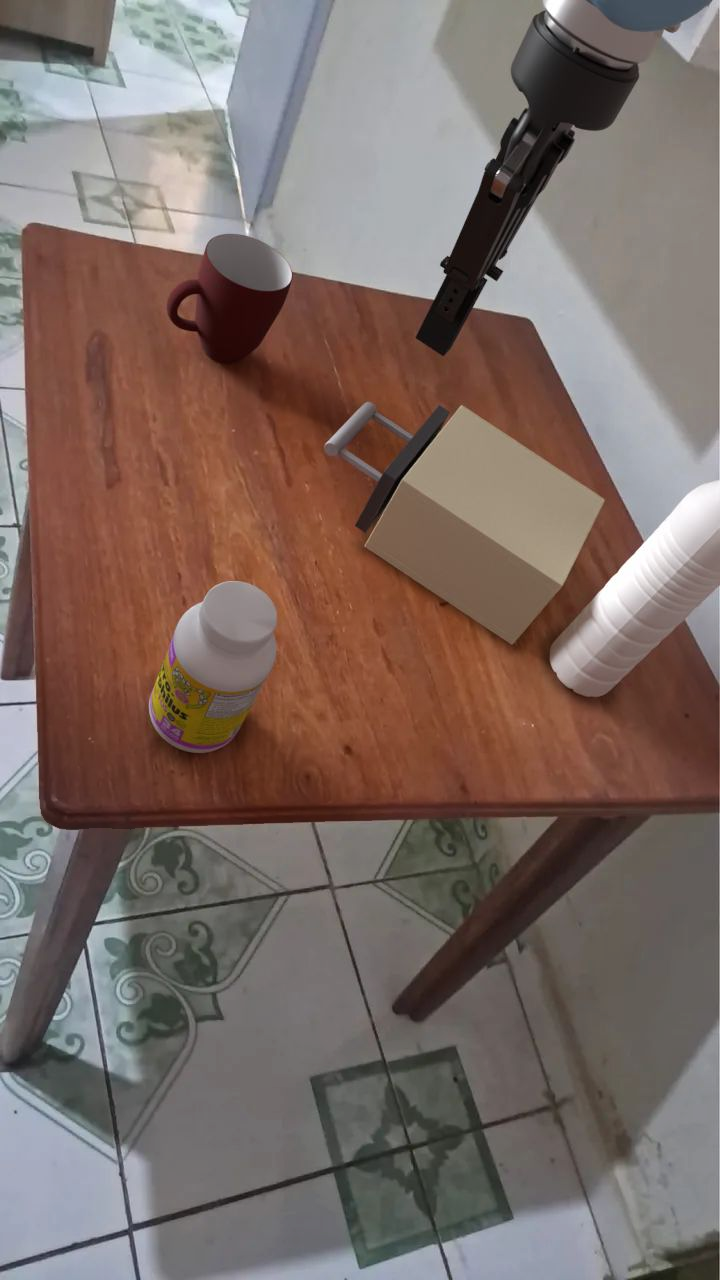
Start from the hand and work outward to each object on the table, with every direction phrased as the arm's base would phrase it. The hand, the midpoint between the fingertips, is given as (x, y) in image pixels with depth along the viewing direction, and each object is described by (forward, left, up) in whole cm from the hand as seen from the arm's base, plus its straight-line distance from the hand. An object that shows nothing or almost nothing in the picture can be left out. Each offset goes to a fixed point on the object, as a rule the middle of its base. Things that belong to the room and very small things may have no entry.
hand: (433, 342), depth 76 cm
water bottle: (+27, -5, -17) cm, 32 cm away
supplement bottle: (+2, -31, -17) cm, 35 cm away
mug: (-19, +4, -17) cm, 26 cm away
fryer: (+12, 0, -16) cm, 20 cm away
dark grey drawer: (+6, 0, -16) cm, 17 cm away
